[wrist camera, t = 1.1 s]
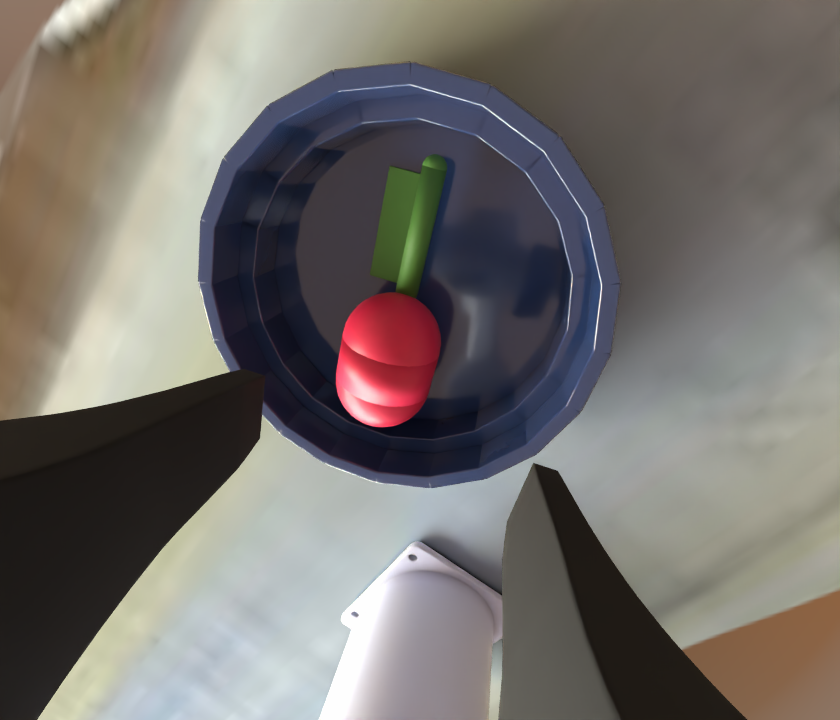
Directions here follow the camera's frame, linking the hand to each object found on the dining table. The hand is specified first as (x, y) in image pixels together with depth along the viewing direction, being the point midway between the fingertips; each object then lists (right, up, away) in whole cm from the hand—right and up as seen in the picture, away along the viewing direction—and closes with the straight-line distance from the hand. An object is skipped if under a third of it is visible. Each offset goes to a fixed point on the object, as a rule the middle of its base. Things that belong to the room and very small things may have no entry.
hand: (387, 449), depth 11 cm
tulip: (0, +5, +8) cm, 9 cm away
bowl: (+1, +5, +8) cm, 10 cm away
